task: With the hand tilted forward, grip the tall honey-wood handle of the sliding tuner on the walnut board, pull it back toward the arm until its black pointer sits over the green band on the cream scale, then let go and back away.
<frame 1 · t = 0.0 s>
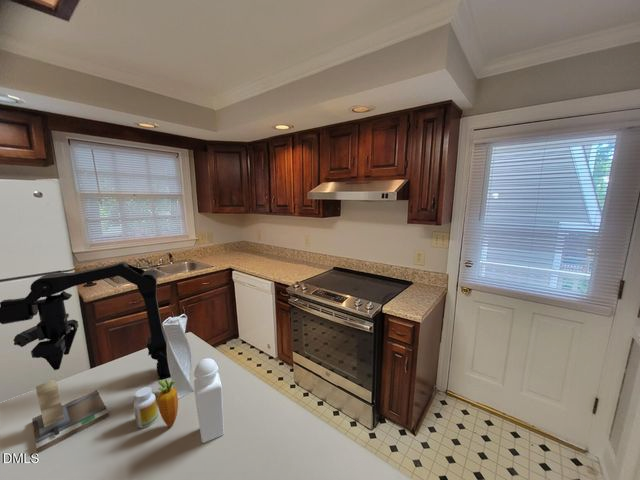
hand: (61, 361, 84), 15 cm above the worktop, tool pointing down, fingers open, 9 cm apart
white square bottle: (212, 432, 74), on the worktop
supplement bottle: (147, 421, 78), on the worktop
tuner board: (69, 420, 79), on the worktop
skyscraper: (183, 391, 90), on the worktop
carrot: (171, 427, 76), on the worktop
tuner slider: (51, 407, 74), point 8 cm above the worktop, slide at 0.0 cm
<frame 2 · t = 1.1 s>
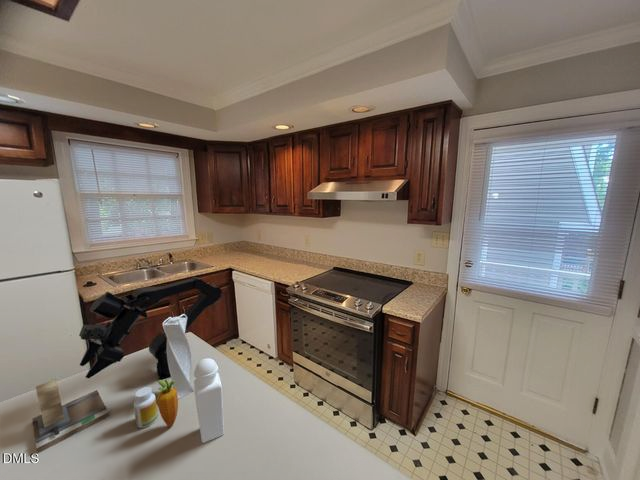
hand: (84, 371, 81), 13 cm above the worktop, tool tilted 45°, fingers open, 9 cm apart
nothing on the worktop moved.
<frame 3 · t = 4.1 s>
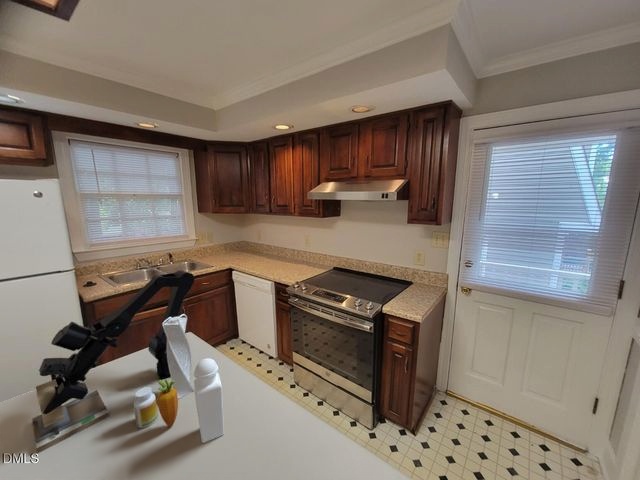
hand: (44, 409, 75), 7 cm above the worktop, tool tilted 45°, fingers closed on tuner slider, 4 cm apart
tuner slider: (51, 407, 74), point 8 cm above the worktop, slide at 0.0 cm, touching gripper
everything else where it was.
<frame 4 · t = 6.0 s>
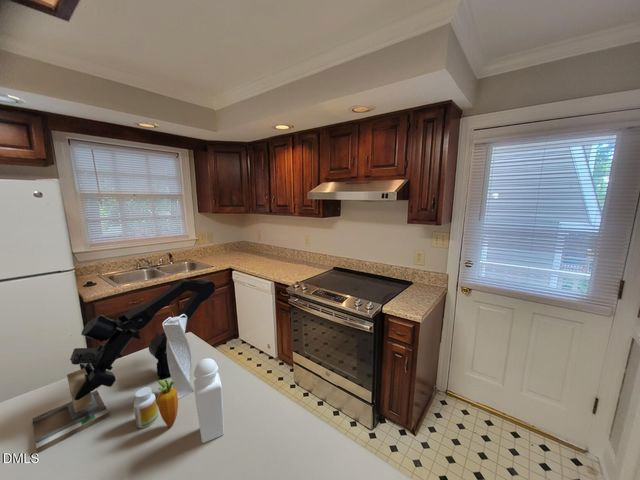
hand: (74, 396, 79), 7 cm above the worktop, tool tilted 45°, fingers closed on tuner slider, 4 cm apart
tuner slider: (81, 394, 79), point 8 cm above the worktop, slide at 6.4 cm, touching gripper
everything else where it was.
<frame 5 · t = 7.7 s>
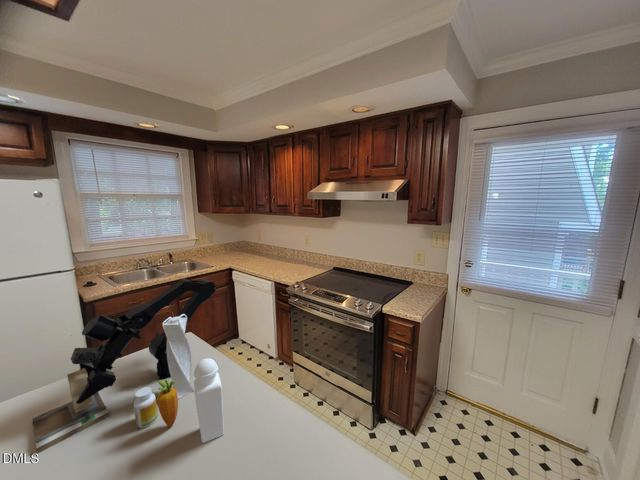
hand: (75, 395, 80), 7 cm above the worktop, tool tilted 45°, fingers open, 9 cm apart
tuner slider: (81, 393, 79), point 8 cm above the worktop, slide at 6.5 cm
everything else where it was.
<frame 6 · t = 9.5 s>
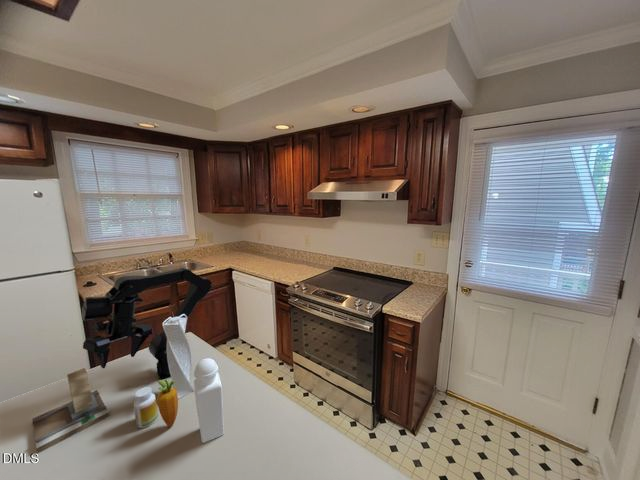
hand: (118, 362, 88), 12 cm above the worktop, tool pointing down, fingers open, 9 cm apart
nothing on the worktop moved.
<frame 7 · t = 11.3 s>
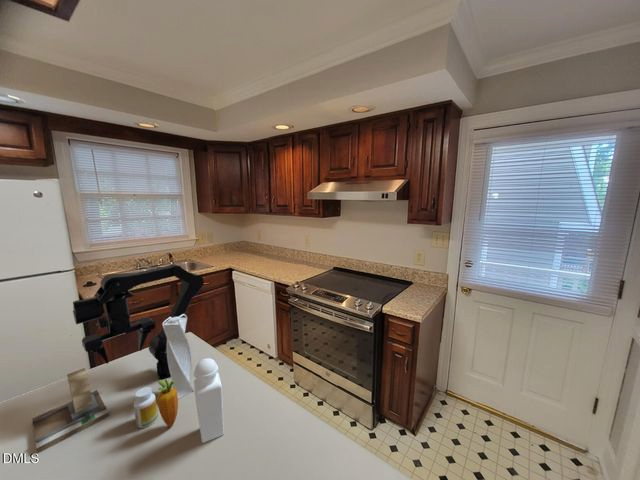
hand: (124, 356, 89), 13 cm above the worktop, tool pointing down, fingers open, 9 cm apart
nothing on the worktop moved.
at the end: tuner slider slide at 6.5 cm; the gripper is holding nothing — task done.
